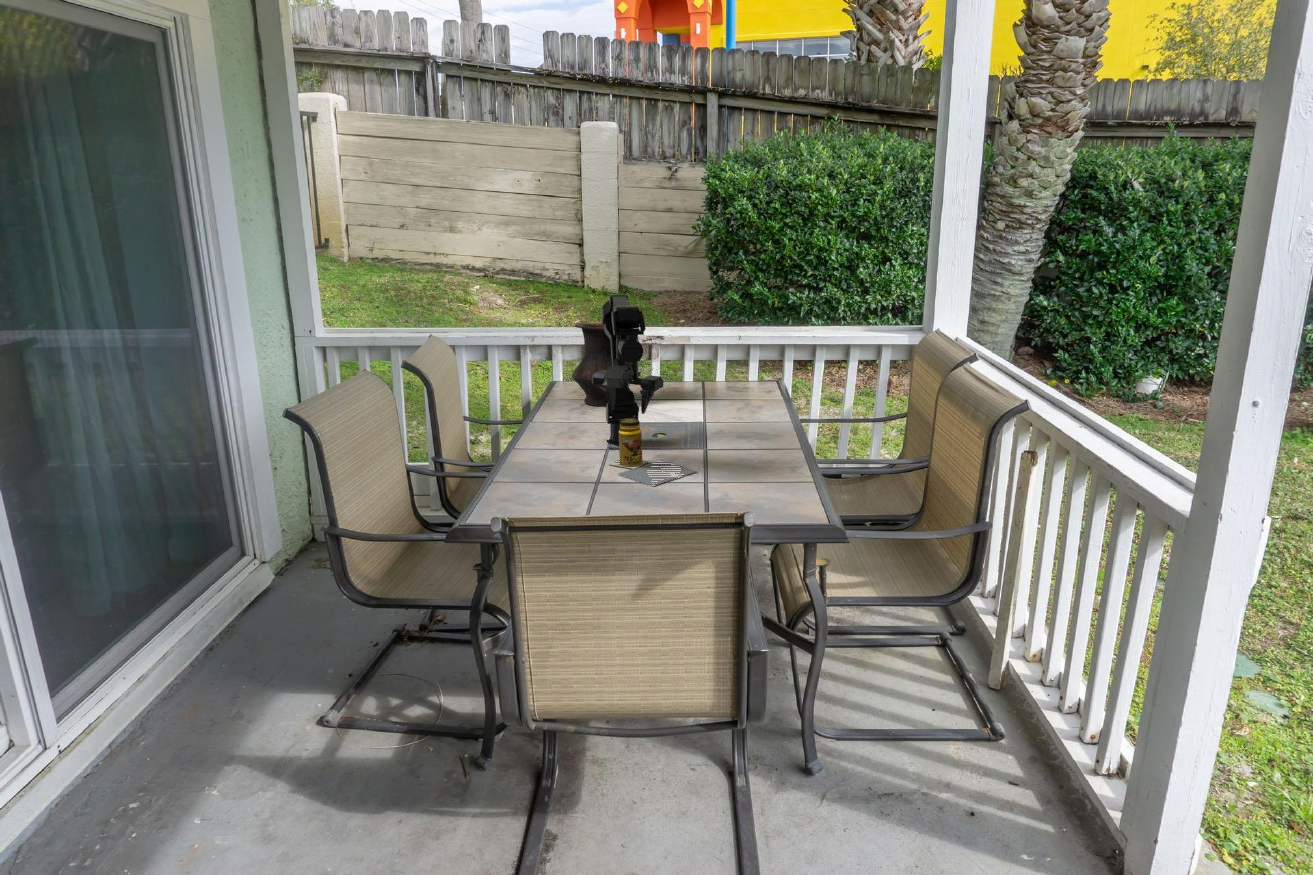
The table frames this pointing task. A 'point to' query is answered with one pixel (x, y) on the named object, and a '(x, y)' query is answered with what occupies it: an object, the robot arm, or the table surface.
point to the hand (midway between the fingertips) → (627, 411)
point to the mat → (643, 477)
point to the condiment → (630, 444)
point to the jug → (593, 361)
